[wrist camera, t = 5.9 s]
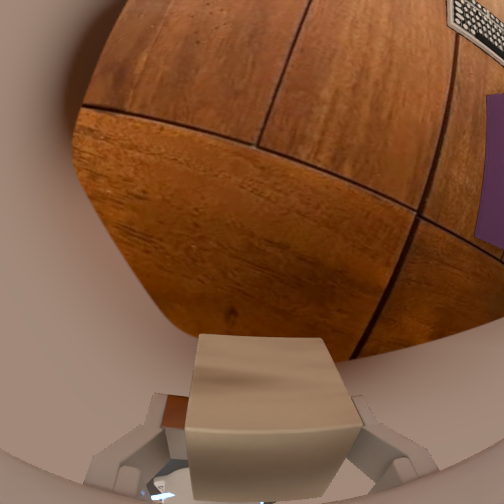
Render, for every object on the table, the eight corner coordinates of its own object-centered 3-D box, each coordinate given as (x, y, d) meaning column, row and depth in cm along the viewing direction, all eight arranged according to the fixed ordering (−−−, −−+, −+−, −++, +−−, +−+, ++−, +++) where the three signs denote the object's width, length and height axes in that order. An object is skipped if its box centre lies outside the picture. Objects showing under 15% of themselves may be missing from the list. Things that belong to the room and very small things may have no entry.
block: (300, 417, 12) (322, 497, 7) (199, 415, 11) (193, 501, 7) (322, 336, 11) (365, 423, 6) (199, 332, 10) (184, 428, 6)
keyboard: (447, 26, 17) (456, 21, 15) (442, -14, 15) (450, -19, 13) (535, 96, 19) (543, 96, 17) (531, 58, 17) (539, 57, 15)
